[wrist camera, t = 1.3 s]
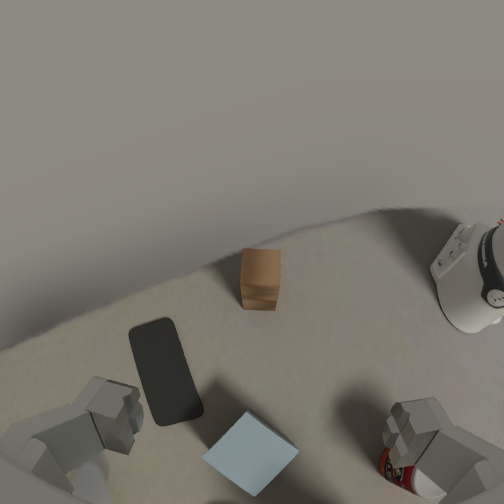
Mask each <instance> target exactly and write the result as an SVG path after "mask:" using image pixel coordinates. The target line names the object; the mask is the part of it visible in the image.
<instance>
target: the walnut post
mask: <svg viewBox="0 0 504 504" xmlns="http://www.w3.org/2000/svg"><path fill="white" fill-rule="evenodd" d="M240 287H241V295H242V302H243V310H265V311H275V308H276V303H277V298H278V293H279V288H280V250H266V249H243V251H242V264H241V277H240Z"/></svg>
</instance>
